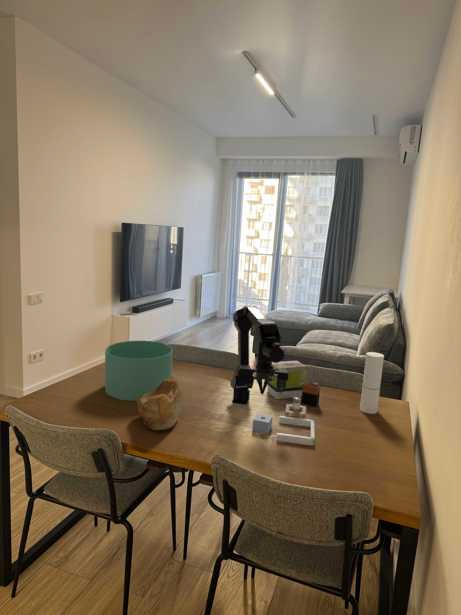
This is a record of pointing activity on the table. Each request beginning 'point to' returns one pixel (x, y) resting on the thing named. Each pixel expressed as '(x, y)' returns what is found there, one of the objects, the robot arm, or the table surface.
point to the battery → (310, 394)
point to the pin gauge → (296, 404)
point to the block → (262, 423)
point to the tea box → (294, 383)
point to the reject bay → (297, 438)
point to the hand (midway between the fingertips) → (262, 393)
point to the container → (136, 368)
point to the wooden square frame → (295, 414)
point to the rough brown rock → (161, 405)
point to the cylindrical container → (371, 382)
